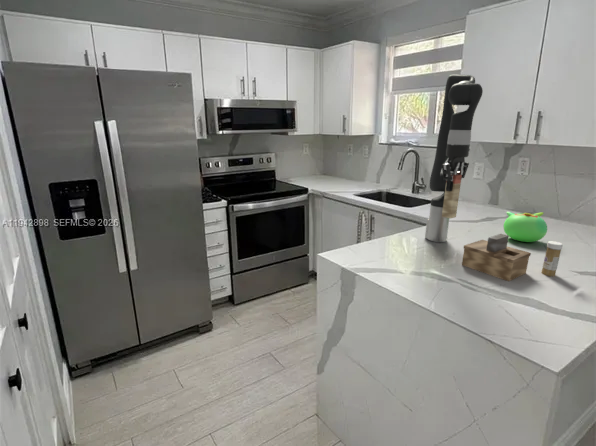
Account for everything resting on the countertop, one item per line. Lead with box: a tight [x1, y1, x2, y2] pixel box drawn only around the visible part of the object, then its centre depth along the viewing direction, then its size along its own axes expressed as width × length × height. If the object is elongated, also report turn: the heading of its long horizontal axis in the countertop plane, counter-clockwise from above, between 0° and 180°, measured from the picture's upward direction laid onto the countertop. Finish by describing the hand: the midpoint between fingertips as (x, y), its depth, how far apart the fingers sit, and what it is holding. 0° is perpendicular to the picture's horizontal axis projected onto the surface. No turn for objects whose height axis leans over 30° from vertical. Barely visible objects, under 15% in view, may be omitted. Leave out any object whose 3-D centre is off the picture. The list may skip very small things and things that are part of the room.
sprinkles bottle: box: [541, 240, 563, 277], centre depth 131 cm, size 5×5×14 cm
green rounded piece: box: [503, 211, 548, 243], centre depth 172 cm, size 18×17×15 cm
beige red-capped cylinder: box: [442, 174, 463, 220], centre depth 132 cm, size 4×4×16 cm
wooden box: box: [461, 248, 530, 282], centre depth 136 cm, size 18×13×8 cm
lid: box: [463, 233, 532, 263], centre depth 134 cm, size 18×13×6 cm
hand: (452, 190), depth 131 cm, fingers closed on beige red-capped cylinder, 3 cm apart
